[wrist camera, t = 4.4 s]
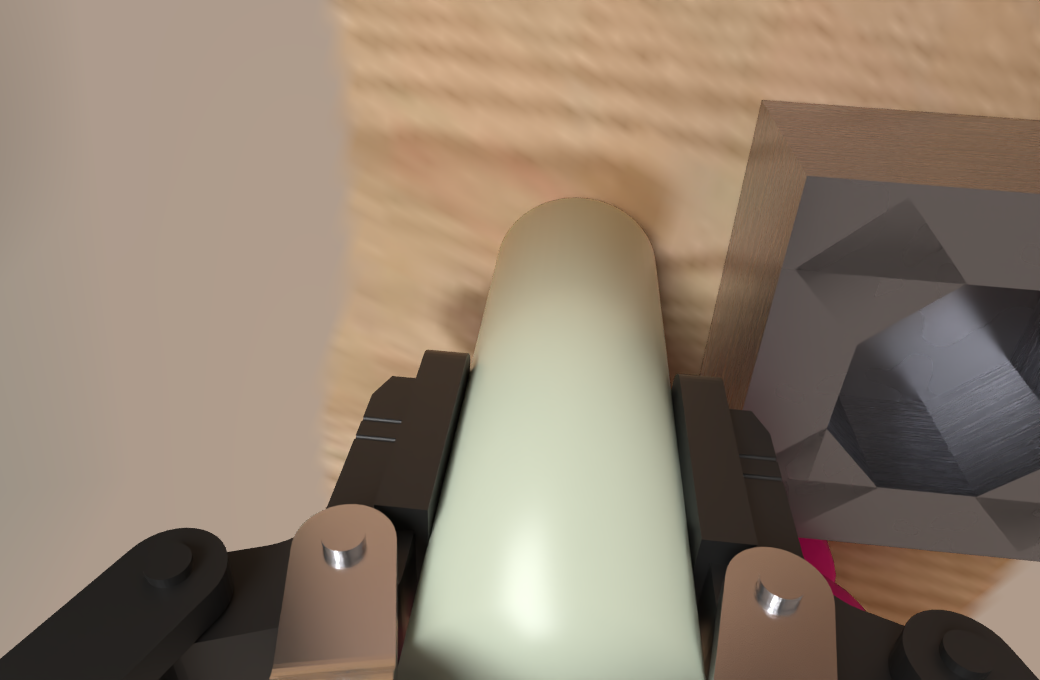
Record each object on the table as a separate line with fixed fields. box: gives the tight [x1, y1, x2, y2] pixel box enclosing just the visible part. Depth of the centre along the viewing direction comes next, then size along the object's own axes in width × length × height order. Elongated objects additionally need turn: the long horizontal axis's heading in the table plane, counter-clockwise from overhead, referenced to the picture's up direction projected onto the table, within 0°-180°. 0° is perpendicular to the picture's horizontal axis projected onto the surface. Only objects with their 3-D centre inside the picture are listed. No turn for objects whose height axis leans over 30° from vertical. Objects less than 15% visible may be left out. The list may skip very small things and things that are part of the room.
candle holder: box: [700, 100, 1040, 562], centre depth 16 cm, size 8×8×4 cm
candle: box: [398, 198, 706, 680], centre depth 13 cm, size 4×4×10 cm
